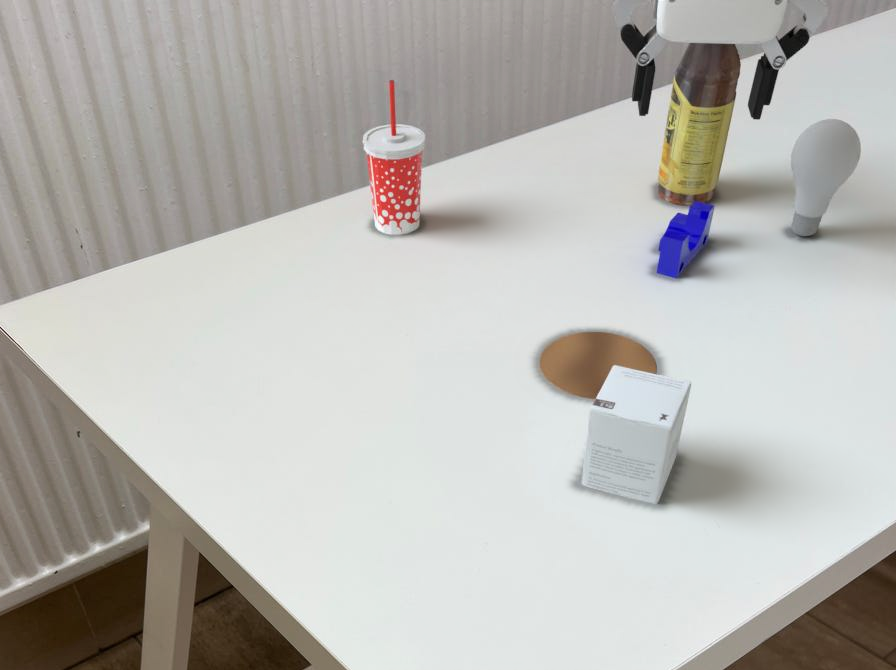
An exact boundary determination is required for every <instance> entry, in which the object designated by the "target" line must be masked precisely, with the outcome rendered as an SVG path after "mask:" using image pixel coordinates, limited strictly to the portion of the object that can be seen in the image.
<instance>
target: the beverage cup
mask: <svg viewBox="0 0 896 670" xmlns="http://www.w3.org/2000/svg"><path fill="white" fill-rule="evenodd" d="M388 87H389V107H390V108H389V109H390V110H389V111H390V124H384V125H378V126H376V127H373V128H371V129H369V130H367V131H366V132H365V133H364V134H363V135H362V145H363V150H364V151H365V153H366V161H367V168H368V169H367V170H368V177H369V178H368V179H369V186H370V193H371V194H370V195H371V201H372V203H371V204H372V210H373V218H374V226H375V229H377V231H378V232H381V233H383V234H386V235H391V236H402V235H407V234H410V233H412V232H414V231H416V230H417V229H418V228H419V227H420V219H421V218H420V216H421V215H420V214H421V190H422V189H421V188H422V167H423V165H422V164H423V150H425V148H426V147H425V146H426V134H425V133H424V132H423V130H422V129H420V128H418V127H415V126H413V125H408V124H401V123H399V124H398V123H397V118H396V94H395V93H396V92H395V80H394V79H390V80H389V81H388Z"/></svg>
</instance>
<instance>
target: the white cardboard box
mask: <svg viewBox="0 0 896 670" xmlns="http://www.w3.org/2000/svg"><path fill="white" fill-rule="evenodd" d="M691 389H692V382H691V381H690V380H685V379H680V378H676V377H670V376H665V375H661V374H657V373H656V374H652V373H648V372H643V371H639V370H634V369H630V368H626V367H621V366H617V365H613V367H612V369H611V371H610V373H609V375H608V376H607V378H606V380H605V382H604V384H603V386H602V388H601V390H600V392H599V393H598V395H597V397H596V399H594V401H593V403H592V405H591V406H590V409H589V413H588V421H587V431H586V440H585V449H584V458H583V467H582V475H581V476H582V477H581V485H582V486H584V487H587V488H590V489H594V490H598V491H600V492H605V493H608V494H612V495H616V496H621V497H624V498H629V499H631V500H632V499H633V500H636V501H640V502H645V503H650V504H653V505H658V504H659V502H660V500H661V498H662V497H661V496H662V494H663V492H664V489H665V487H666V484H667V482H668V479H669V477H670V473H671V471H672V469H673V466H674V464H675V461H676V458H677V455H678V449H679V445H680V440H681V436H682V430H683V425H684V421H685V416H686V411H687V407H688V402H689V398H690V393H691Z"/></svg>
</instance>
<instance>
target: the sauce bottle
mask: <svg viewBox="0 0 896 670" xmlns="http://www.w3.org/2000/svg"><path fill="white" fill-rule="evenodd" d="M741 63H742V62H741V58H740V54H739V50H738V48H737V46H736V44H719V43H688V46H687V47H686V50H685V51H684V53H683V55H682V58H681V59H680V62H679V64H678V66H677V67H676V69H675V71H674V74H673V81H672V87H671V92H670V100H669V106H668V112H667V118H666V124H665V130H664V137H663V143H662V149H661V156H660V161H659V167H658V174H657V181H658V184H657V192H658V195H659V197H660V198H661V199H662V200H664V201H665V202H668V203H671V204H673V205H677V206H687V207H690V206H691V205H692V204H693V203H694V202H695V201H698V202H702V203H706V204H707V203H708V202H709V201H710V200H712V199H713V197H714V195H715V193H716V188H717V185H718V182H719V178H720V175H721V174H720V173H721V169H722V165H723V161H724V155H725V151H726V150H725V149H726V146H727V140H728V136H729V131H730V127H731V122H732V118H733V111H734V108H735V103H736V97H737V87H738V81H739V79H740V75H741V67H742V64H741Z"/></svg>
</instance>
